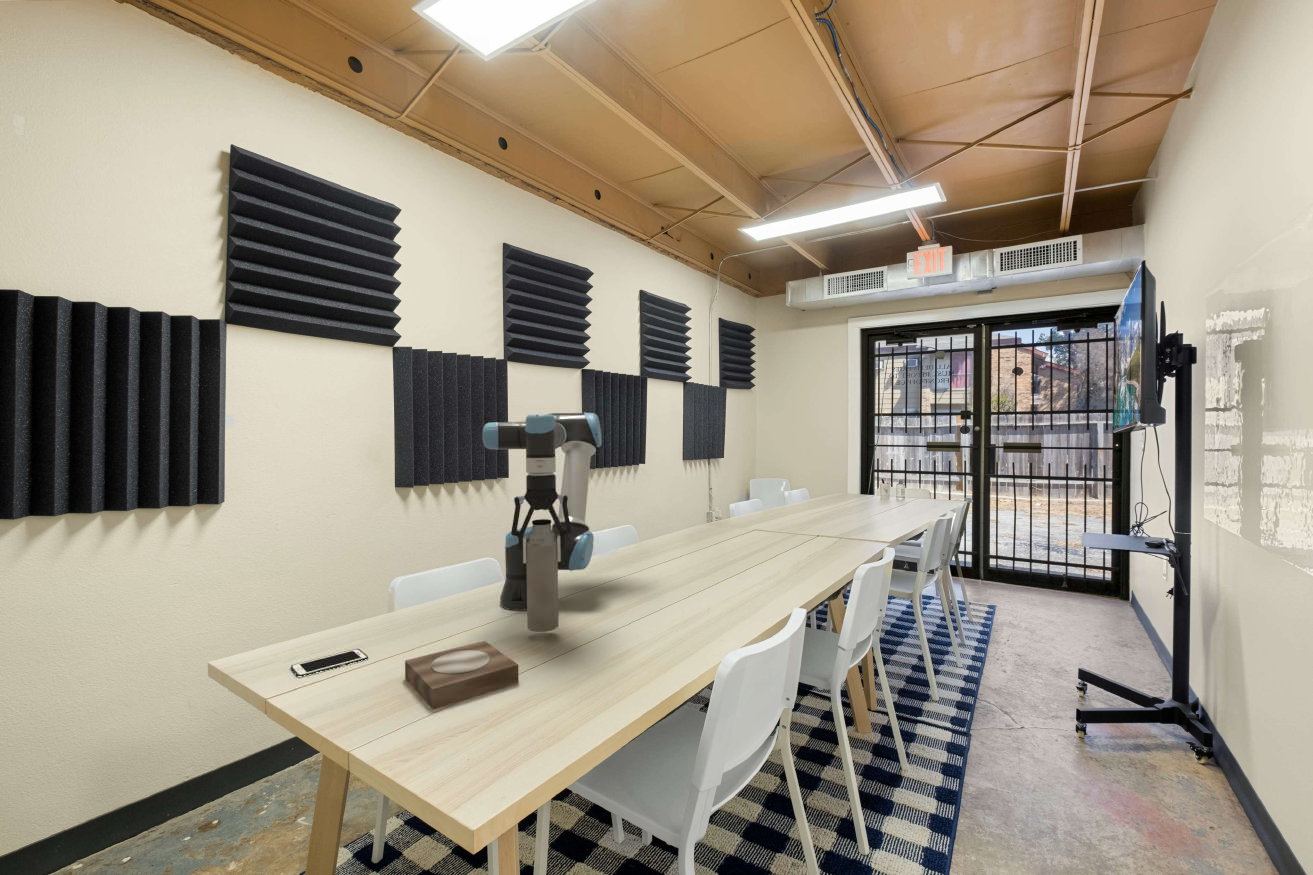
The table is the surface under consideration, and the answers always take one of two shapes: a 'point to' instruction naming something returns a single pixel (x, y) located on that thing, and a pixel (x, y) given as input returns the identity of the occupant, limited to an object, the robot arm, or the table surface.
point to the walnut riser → (460, 673)
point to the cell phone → (328, 662)
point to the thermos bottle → (542, 578)
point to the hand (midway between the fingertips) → (542, 561)
